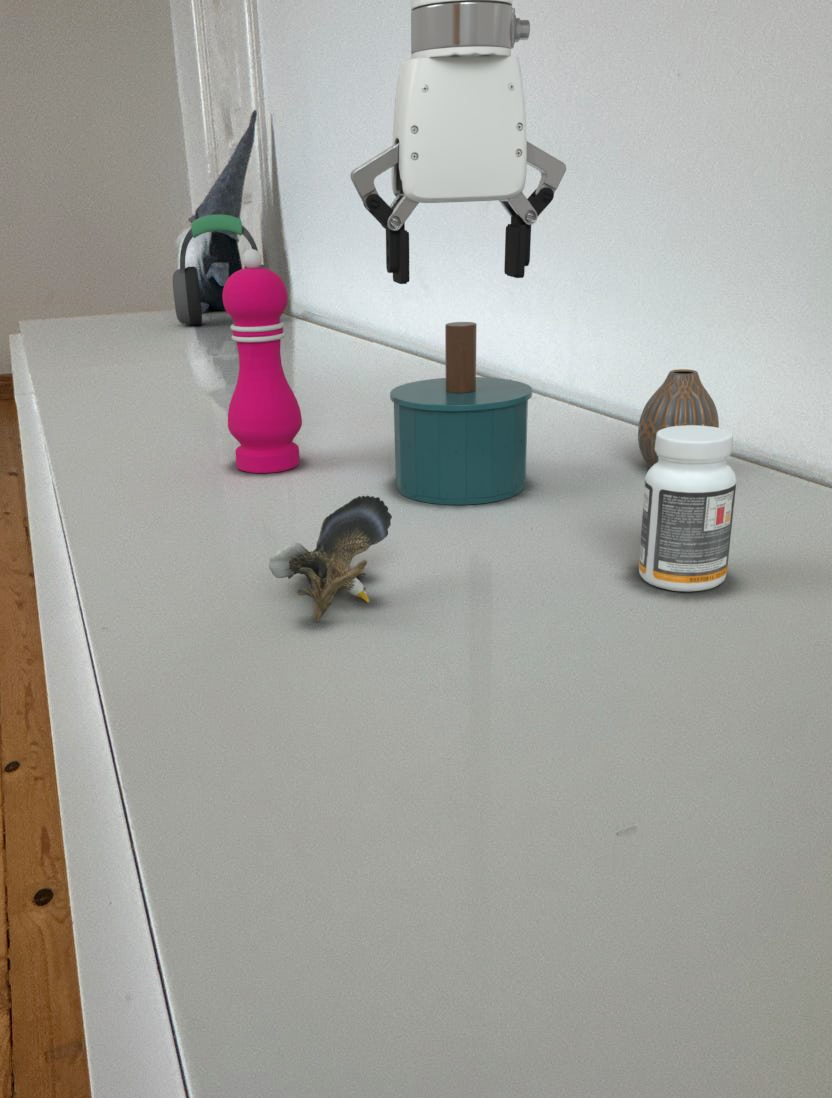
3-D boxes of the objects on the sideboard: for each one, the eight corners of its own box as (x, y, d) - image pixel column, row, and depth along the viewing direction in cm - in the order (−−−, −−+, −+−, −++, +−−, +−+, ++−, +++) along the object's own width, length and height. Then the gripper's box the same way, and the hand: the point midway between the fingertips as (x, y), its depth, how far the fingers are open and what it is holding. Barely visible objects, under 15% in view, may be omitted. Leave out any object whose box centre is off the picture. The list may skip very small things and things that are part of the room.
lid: (506, 385, 93) (507, 310, 90) (552, 411, 82) (556, 328, 79) (377, 395, 91) (375, 319, 88) (408, 423, 80) (406, 338, 77)
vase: (669, 483, 87) (679, 382, 84) (619, 466, 93) (626, 370, 90) (730, 471, 90) (742, 372, 86) (678, 455, 96) (687, 361, 92)
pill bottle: (743, 580, 67) (762, 432, 63) (687, 601, 64) (703, 448, 60) (674, 557, 71) (688, 418, 67) (619, 577, 68) (629, 432, 64)
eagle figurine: (404, 609, 62) (417, 536, 69) (335, 524, 59) (356, 457, 66) (310, 660, 65) (331, 585, 72) (239, 581, 62) (269, 512, 70)
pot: (501, 464, 96) (503, 379, 92) (543, 497, 85) (546, 403, 82) (385, 475, 94) (382, 389, 90) (413, 510, 84) (411, 415, 80)
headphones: (271, 317, 205) (264, 211, 197) (274, 323, 196) (266, 213, 187) (179, 322, 204) (167, 216, 195) (177, 329, 194) (164, 218, 185)
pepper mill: (237, 457, 102) (218, 248, 94) (307, 454, 102) (294, 244, 94) (226, 476, 96) (205, 253, 87) (301, 473, 95) (287, 250, 87)
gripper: (552, 43, 80) (542, 271, 87) (339, 46, 77) (346, 280, 84) (589, 30, 73) (574, 278, 80) (357, 33, 70) (363, 289, 78)
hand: (457, 279), depth 82 cm, fingers open, 9 cm apart
